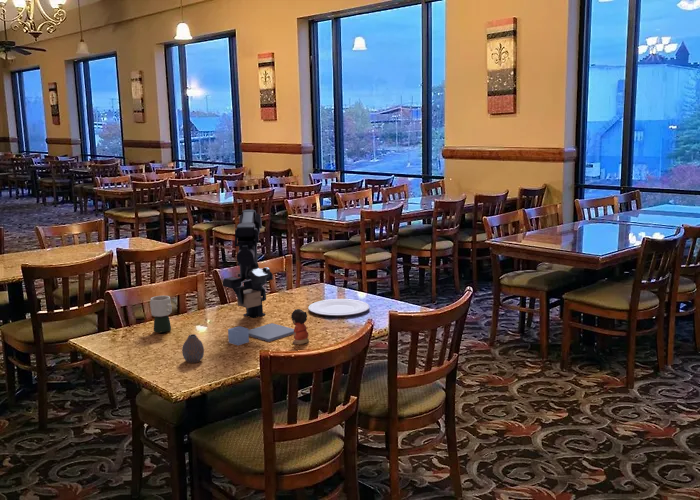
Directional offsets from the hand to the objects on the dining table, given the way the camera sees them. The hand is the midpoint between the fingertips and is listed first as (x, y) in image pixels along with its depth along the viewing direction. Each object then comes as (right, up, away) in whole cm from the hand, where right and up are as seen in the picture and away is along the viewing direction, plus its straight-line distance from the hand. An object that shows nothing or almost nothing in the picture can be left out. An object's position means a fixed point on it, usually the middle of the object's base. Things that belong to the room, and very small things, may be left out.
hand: (249, 302), depth 256 cm
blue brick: (-3, -14, -7) cm, 16 cm away
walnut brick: (0, -1, 0) cm, 1 cm away
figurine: (+19, -14, -8) cm, 25 cm away
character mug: (-33, -12, +7) cm, 36 cm away
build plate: (+7, -12, +2) cm, 14 cm away
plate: (+32, -6, +32) cm, 46 cm away
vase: (-14, -18, -26) cm, 34 cm away
